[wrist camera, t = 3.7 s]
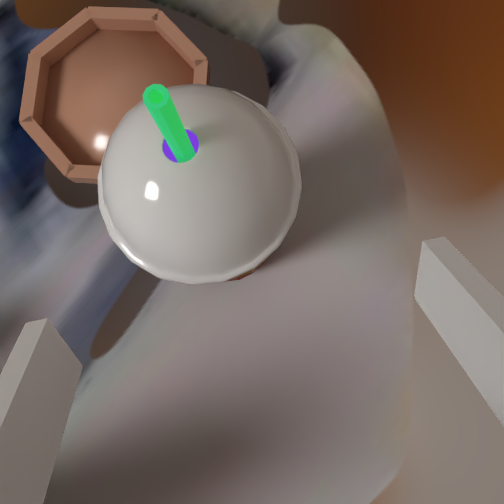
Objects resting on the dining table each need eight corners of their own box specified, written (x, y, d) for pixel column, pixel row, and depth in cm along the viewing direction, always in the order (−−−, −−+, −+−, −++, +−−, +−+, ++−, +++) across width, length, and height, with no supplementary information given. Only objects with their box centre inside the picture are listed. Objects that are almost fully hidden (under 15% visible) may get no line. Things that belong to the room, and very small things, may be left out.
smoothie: (152, 236, 29) (-87, 90, 9) (231, 165, 29) (171, -117, 10) (224, 315, 28) (136, 350, 8) (304, 241, 28) (406, 101, 9)
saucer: (6, 100, 30) (-14, 85, 28) (136, -3, 32) (127, -25, 29) (111, 223, 29) (99, 217, 27) (244, 110, 30) (243, 95, 28)
